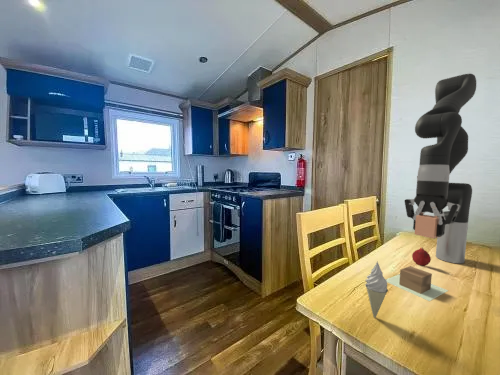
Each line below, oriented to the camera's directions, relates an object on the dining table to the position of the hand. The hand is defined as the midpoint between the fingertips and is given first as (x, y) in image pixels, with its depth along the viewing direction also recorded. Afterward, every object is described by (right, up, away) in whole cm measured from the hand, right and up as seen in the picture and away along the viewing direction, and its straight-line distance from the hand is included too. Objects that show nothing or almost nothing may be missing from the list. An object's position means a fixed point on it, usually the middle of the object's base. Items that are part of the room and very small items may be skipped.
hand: (427, 233), depth 68 cm
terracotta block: (0, 0, 0) cm, 0 cm away
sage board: (-3, -18, +2) cm, 19 cm away
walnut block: (-3, -17, +1) cm, 17 cm away
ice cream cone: (-23, -19, -12) cm, 33 cm away
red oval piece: (+12, -17, +19) cm, 28 cm away
